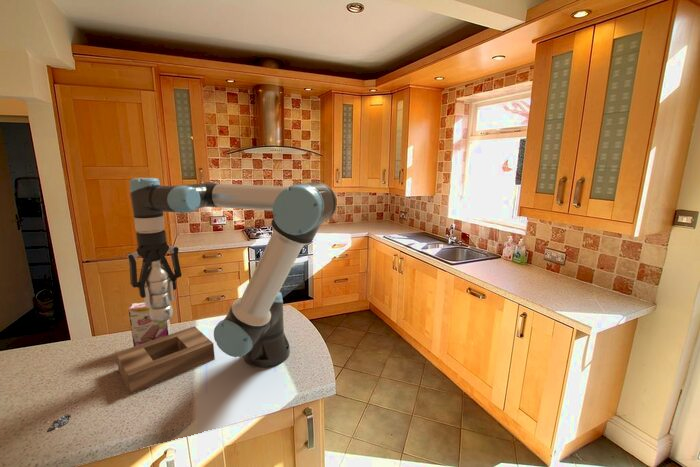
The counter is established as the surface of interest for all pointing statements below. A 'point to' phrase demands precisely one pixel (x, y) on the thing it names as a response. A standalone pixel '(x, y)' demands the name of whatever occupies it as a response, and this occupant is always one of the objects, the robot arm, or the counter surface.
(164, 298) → the plastic bottle
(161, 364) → the bottle caddy
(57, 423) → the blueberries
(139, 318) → the candy bar box
